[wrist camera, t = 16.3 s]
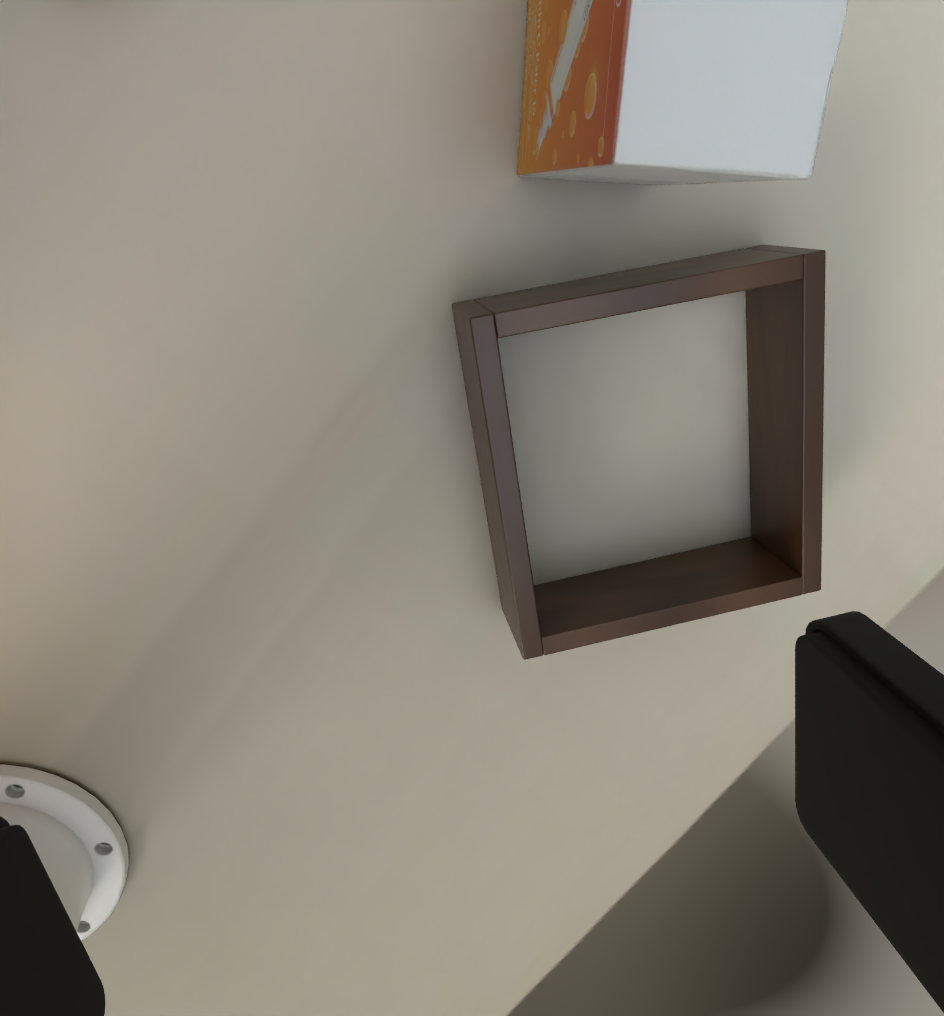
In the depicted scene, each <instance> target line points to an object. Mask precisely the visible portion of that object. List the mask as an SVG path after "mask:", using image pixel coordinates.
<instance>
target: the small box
mask: <svg viewBox="0 0 944 1016" xmlns="http://www.w3.org/2000/svg"><path fill="white" fill-rule="evenodd" d="M847 4H848V0H528V9H527V30H526V46H525V66H524V82H523V97H522V111H521V125H520V140H519V152H518V166H517V175H518V176H519V177H526V178H543V179H559V180H575V181H591V182H607V183H624V184H641V185H675V184H698V183H717V182H744V181H766V180H806V179H808V178H809V177H810V175H811V173H812V171H813V168H814V162H815V157H816V153H817V149H818V143H819V138H820V133H821V128H822V123H823V119H824V114H825V109H826V103H827V98H828V93H829V87H830V83H831V78H832V73H833V68H834V63H835V59H836V55H837V51H838V47H839V43H840V39H841V35H842V31H843V26H844V21H845V15H846V10H847Z"/></svg>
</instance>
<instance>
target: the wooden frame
mask: <svg viewBox="0 0 944 1016" xmlns="http://www.w3.org/2000/svg"><path fill="white" fill-rule="evenodd" d="M744 290H746V319H747V360H748V401H749V442H750V483H751V525H752V537H749V538H744V539H740V540H736V541H731V542H727V543H722V544H718V545H713V546H709V547H705V548H700V549H696V550H691V551H687V552H682V553H678V554H674V555H669V556H665V557H660V558H656V559H651V560H647V561H643V562H638V563H634V564H629V565H625V566H620V567H616V568H612V569H607V570H603V571H598V572H594V573H589V574H585V575H580V576H576V577H572V578H567V579H563V580H558V581H554V582H549V583H545V584H541V585H536V586H534V585H533V578H532V571H531V564H530V557H529V551H528V544H527V537H526V530H525V523H524V517H523V510H522V503H521V496H520V489H519V483H518V476H517V469H516V462H515V455H514V448H513V442H512V435H511V428H510V421H509V414H508V408H507V401H506V394H505V387H504V380H503V373H502V367H501V360H500V353H499V346H498V339H497V337H498V338H502V337H507V336H512V335H517V334H522V333H527V332H532V331H538V330H543V329H548V328H553V327H558V326H563V325H569V324H574V323H579V322H584V321H589V320H594V319H600V318H605V317H610V316H615V315H620V314H625V313H631V312H636V311H641V310H646V309H651V308H656V307H661V306H667V305H672V304H677V303H682V302H687V301H692V300H698V299H703V298H708V297H713V296H718V295H723V294H729V293H734V292H739V291H744ZM452 310H453V316H454V322H455V328H456V334H457V340H458V346H459V352H460V358H461V364H462V370H463V376H464V382H465V388H466V394H467V400H468V406H469V412H470V418H471V424H472V430H473V436H474V442H475V448H476V454H477V460H478V466H479V472H480V478H481V484H482V490H483V497H484V503H485V509H486V515H487V521H488V527H489V533H490V539H491V545H492V551H493V557H494V563H495V569H496V575H497V581H498V587H499V593H500V599H501V605H502V610H503V612H504V615H505V617H506V619H507V622H508V624H509V626H510V629H511V631H512V633H513V636H514V638H515V640H516V643H517V645H518V648H519V650H520V652H521V655H522V657H523V659H529V658H534V657H538V656H542V655H543V654H544V655H547V654H552V653H556V652H560V651H564V650H569V649H573V648H577V647H581V646H586V645H590V644H594V643H599V642H603V641H607V640H611V639H616V638H620V637H624V636H628V635H633V634H637V633H641V632H645V631H650V630H654V629H658V628H662V627H667V626H671V625H675V624H679V623H684V622H688V621H692V620H697V619H701V618H705V617H709V616H714V615H718V614H722V613H726V612H731V611H735V610H739V609H743V608H748V607H752V606H756V605H760V604H765V603H769V602H773V601H777V600H782V599H786V598H790V597H795V596H799V595H802V594H806V593H810V592H815V591H819V590H821V543H822V470H823V397H824V323H825V250H816V249H805V248H794V247H783V246H772V245H759V246H754V247H749V248H746V249H744V248H743V249H738V250H732V251H727V252H722V253H716V254H711V255H706V256H700V257H695V258H690V259H684V260H679V261H674V262H669V263H663V264H658V265H653V266H647V267H642V268H637V269H631V270H626V271H621V272H615V273H610V274H605V275H600V276H594V277H589V278H584V279H578V280H573V281H568V282H562V283H557V284H552V285H546V286H541V287H536V288H530V289H525V290H520V291H515V292H509V293H504V294H499V295H493V296H488V297H483V298H477V299H474V300H467V301H462V302H456V303H453V304H452Z"/></svg>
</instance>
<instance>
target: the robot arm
mask: <svg viewBox="0 0 944 1016" xmlns="http://www.w3.org/2000/svg"><path fill="white" fill-rule="evenodd" d="M795 801H796V808H797V812H798V815H799V818H800V821H801V822H802V825H803V826H804V829H805V830H806V832H807V833H808V835H809V836H810V837H811V839H812V840H813V841H814V842H815V844H816V845H817V846H818V848H819V849H820V850H821V852H822V853H823V854H824V856H825V857H826V858H827V860H828V861H829V862H830V864H831V865H832V866H833V868H834V869H835V870H836V871H837V873H838V874H839V875H840V877H841V878H842V879H843V881H844V882H845V883H846V885H847V886H848V887H849V888H850V890H851V891H852V893H853V894H854V895H855V897H856V898H857V899H858V900H859V902H860V903H861V904H862V906H863V907H864V908H865V910H866V911H867V912H868V913H869V915H870V916H871V917H872V919H873V920H874V922H875V923H876V924H877V925H878V927H879V928H880V929H881V931H882V932H883V933H884V935H885V936H886V937H887V939H888V940H889V941H890V942H891V944H892V945H893V947H894V948H895V949H896V951H897V952H898V953H899V954H900V956H901V957H902V958H903V960H904V961H905V962H906V964H907V965H908V966H909V968H910V969H911V970H912V971H913V973H914V974H915V976H916V977H917V978H918V980H919V981H920V982H921V983H922V985H923V986H924V987H925V989H926V990H927V991H928V993H929V994H930V995H931V996H932V998H933V999H934V1001H935V1002H936V1003H937V1005H938V1006H939V1007H940V1008H941V1010H942V1011H943V1012H944V675H943V674H941V673H940V672H939V671H937V670H936V669H935V668H933V667H932V666H931V665H929V664H928V663H927V662H926V661H924V660H923V659H922V658H920V657H919V656H918V655H916V654H915V653H914V652H912V651H911V650H910V649H909V648H907V647H906V646H905V645H903V644H902V643H901V642H900V641H898V640H897V639H896V638H894V637H893V636H891V635H890V634H889V633H888V632H886V631H885V630H884V629H883V628H881V627H880V626H879V625H877V624H876V623H875V622H873V621H872V620H871V619H870V618H868V617H867V616H866V615H864V614H862V613H860V612H855V611H852V612H848V613H844V614H840V615H835V616H831V617H827V618H823V619H819V620H814V621H812V622H810V623H809V624H808V626H807V628H806V634H805V635H803V636H800V637H799V638H798V639H797V641H796V646H795ZM128 866H129V857H128V847H127V843H126V840H125V837H124V835H123V832H122V829H121V827H120V826H119V824H118V823H117V821H116V820H115V818H114V817H113V815H112V814H111V812H110V811H109V810H108V809H107V808H106V807H105V806H104V805H103V804H102V803H101V802H100V801H99V800H98V799H97V798H96V797H94V796H93V795H91V794H90V793H88V792H87V791H85V790H84V789H82V788H81V787H79V786H78V785H76V784H74V783H72V782H70V781H67V780H65V779H63V778H61V777H59V776H56V775H54V774H50V773H47V772H43V771H40V770H36V769H33V768H27V767H20V766H13V765H5V764H1V765H0V1016H104V1013H105V994H104V988H103V985H102V982H101V980H100V978H99V976H98V974H97V972H96V970H95V968H94V966H93V964H92V962H91V960H90V958H89V956H88V954H87V952H86V950H85V948H84V946H83V944H82V942H81V941H82V940H84V939H85V938H86V937H88V936H89V935H90V934H92V933H93V932H94V931H96V930H97V929H98V928H99V927H100V926H101V925H102V924H103V923H104V922H105V921H106V919H107V918H108V917H109V916H110V915H111V914H112V912H113V910H114V908H115V907H116V905H117V903H118V902H119V900H120V897H121V894H122V891H123V888H124V885H125V882H126V878H127V872H128Z"/></svg>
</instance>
